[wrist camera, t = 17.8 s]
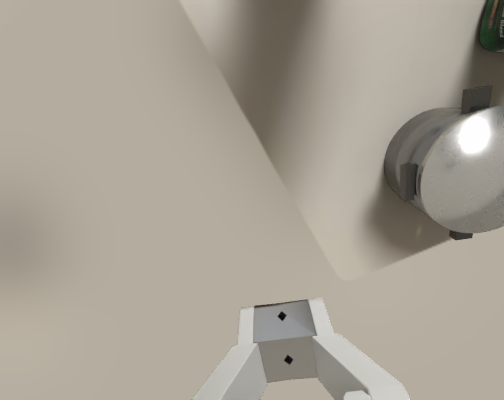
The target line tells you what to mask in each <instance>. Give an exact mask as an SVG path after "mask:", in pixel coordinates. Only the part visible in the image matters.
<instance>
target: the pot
mask: <svg viewBox="0 0 504 400" xmlns="http://www.w3.org/2000/svg"><path fill="white" fill-rule="evenodd" d="M491 89H492V86H481V87H475V88H470V89H465V90H463V98H462V108H436V109H432V110H428V111H425V112H423V113H421V114H419V115H417V116H415V117H413V118H412V119H410V120H409V121H408V122H407V123H405V124H404V125H403V126H402V127H401V128H400V129H399V130H398V132H397V133H396V134H395V135H394V137H393V139H392V140H391V142H390V144H389V146H388V149H387V152H386V155H385V161H384V170H385V176H386V179H387V181H388V183H389V185H390V187H391V188H392V189H393V191H394V192H396V193H397V194H398V195H399V196H400V198H401V199H403V200H404V201H405V202H406V201H408V202H410V203H411V204H413V205H414V206H416V207H417V208H418V209H420V210H421V211H423V212H424V213H426V212H425V211H424V209H423V207H422V205H421V203H420V200H419V196H418V189H417V182H418V175H419V171H420V167H421V164H422V162H423V159H424V157H425V156H426V154H427V152H428V150H429V149H430V147H431V146H432V144H433V143H434V142H435V141H436V139H437V138H438V137H439V136H440V135H441V134H442V133H443V132H444V131H445V130H446V129H447V128H448V127H450V126H451V125H452V124H453V123H455V122H456V121H458V120H459V119H461V118H463V117H464V116H466V115H468V114H470V113H472V112H475V111H478V110H480V109H484V108H488V107H489V104H490V97H491ZM426 214H427V213H426ZM427 215H428V214H427ZM472 235H473V233H461V232H456V231H452V230H450V235H449V236H450V237H452V238H453V239H455V240H461V239H468V238H472Z"/></svg>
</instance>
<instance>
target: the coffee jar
mask: <svg viewBox="0 0 504 400" xmlns="http://www.w3.org/2000/svg"><path fill="white" fill-rule="evenodd" d="M480 42H481V44H482V45H483V47H484V48H486V49H487V50H490V51H495V52H504V0H488V2H487V5H486V8H485V12H484V15H483V19H482V24H481V29H480Z"/></svg>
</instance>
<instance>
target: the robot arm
mask: <svg viewBox="0 0 504 400" xmlns="http://www.w3.org/2000/svg"><path fill="white" fill-rule="evenodd" d="M317 377H318V380H319V381H320V382H321V383H322V384H323V386H324V387H325V388H326V389H327V391H328V392H329V393H330V394H331V396H332V397H333V398H334V399H335V400H410V398H409V396H408V394H407V392H406V390H405V388H404V386H403V385H402V384H401V383H400V382H398V381H397V380H396V379H395V378H393V377H392V376H391V375H390V374H389V373H387V372H386V371H385V370H384V369H382V368H381V367H380V366H378V365H377V364H376V363H375V362H374V361H372V360H371V359H370V358H369V357H367V356H366V355H365V354H364V353H362V352H361V351H360V350H359V349H358V348H356V347H355V346H354V345H353V344H351V343H350V342H349V341H347V340H346V339H345V338H344V337H343V336H341V335H340V334H339V333H337V334H334V332H333V328H332V326H331V322H330V319H329V317H328V314H327V311H326V307H325V304H324V301H323V299H322V298H321V297H318V298H312V299H308V300H307V299H306V300H299V301H291V302H284V303H276V304H267V305H257V306H252V307H241V309H240V313H239V326H238V338H237V345H236V346H232V348H231V349H230V350H229V351H228V353H227V354H226V355H225V357H224V358H223V359H222V361H221V362H220V363H219V364H218V366H217V367H216V368H215V370H214V371H213V373H212V374H211V375H210V376H209V378H208V379H207V380H206V382H205V383H204V384H203V385H202V387H201V388H200V389H199V391H198V392H197V393H196V395H195V396H194V397H193V399H192V400H260V399H261V397H262V395H263V393H264V391H265V388H266V387H267V383H269V382H277V381H283V380H290V379H304V378H317Z"/></svg>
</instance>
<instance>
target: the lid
mask: <svg viewBox="0 0 504 400" xmlns="http://www.w3.org/2000/svg"><path fill="white" fill-rule="evenodd" d="M417 189H418V196H419V200H420V203H421V205H422V207H423V209H424V211H425V212H426V213H427V214H428V216H429V217H431V218H432V219H433V220H434V221H435V222H437V223H438V224H440V225H441V226H443V227H445V228H447V229H449V230H452V231H456V232H461V233H481V232H486V231H490V230H494V229H497V228H500V227H502V226H504V105H500V106H492V107H488V108H484V109H480V110H478V111H475V112H472V113H470V114H468V115H466V116H464V117H463V118H461V119H459V120H458V121H456V122H455V123H453V124H452V125H451V126H450V127H448V128H447V129H446V130H445V131H444V132H443V133H442V134H441V135H440V136H439V137H438V138H437V139H436V141H435V142H434V143H433V144H432V146H431V147H430V149H429V150H428V152H427V154H426V156H425V157H424V159H423V162H422V164H421V167H420V171H419V175H418V182H417Z"/></svg>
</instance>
